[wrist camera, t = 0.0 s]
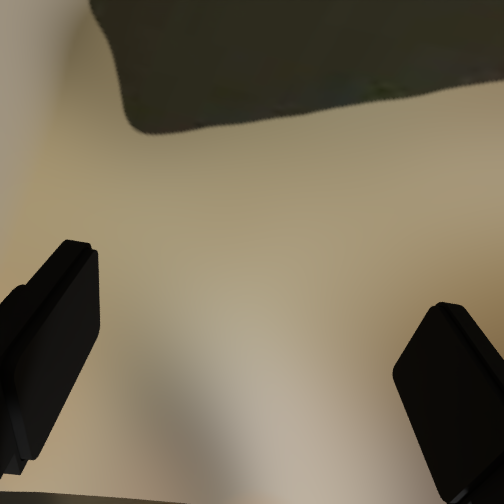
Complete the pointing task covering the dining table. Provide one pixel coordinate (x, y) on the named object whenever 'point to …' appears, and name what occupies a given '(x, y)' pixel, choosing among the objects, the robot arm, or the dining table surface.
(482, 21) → the dining table surface
